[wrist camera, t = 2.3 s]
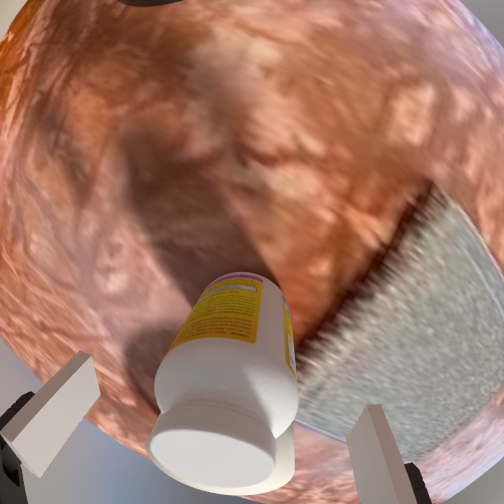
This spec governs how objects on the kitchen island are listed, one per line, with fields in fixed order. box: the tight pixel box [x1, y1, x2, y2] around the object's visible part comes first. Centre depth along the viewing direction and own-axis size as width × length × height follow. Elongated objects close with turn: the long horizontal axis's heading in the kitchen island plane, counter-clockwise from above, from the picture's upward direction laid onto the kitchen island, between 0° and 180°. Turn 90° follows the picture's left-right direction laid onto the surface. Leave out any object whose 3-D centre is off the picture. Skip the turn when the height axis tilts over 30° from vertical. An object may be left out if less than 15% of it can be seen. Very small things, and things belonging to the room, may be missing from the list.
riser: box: [146, 412, 295, 495], centre depth 20 cm, size 13×13×6 cm
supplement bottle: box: [150, 272, 299, 488], centre depth 14 cm, size 7×7×13 cm
